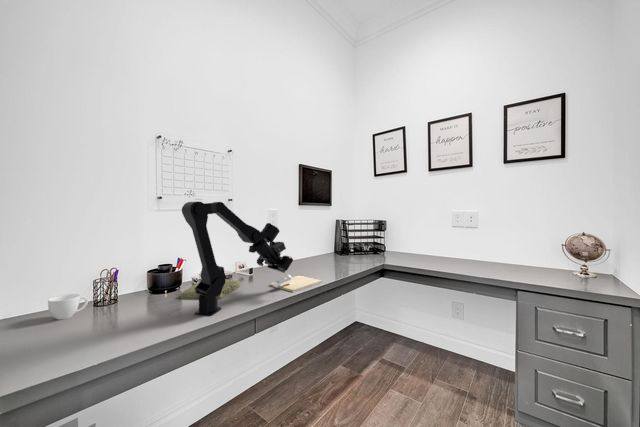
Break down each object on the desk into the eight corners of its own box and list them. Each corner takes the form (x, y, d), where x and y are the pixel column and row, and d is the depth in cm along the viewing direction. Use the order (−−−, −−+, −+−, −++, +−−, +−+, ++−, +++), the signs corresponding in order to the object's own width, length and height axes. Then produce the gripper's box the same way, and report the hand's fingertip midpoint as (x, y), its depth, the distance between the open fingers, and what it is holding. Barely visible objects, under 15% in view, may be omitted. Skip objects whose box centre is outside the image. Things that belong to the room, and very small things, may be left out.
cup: (48, 317, 91) (47, 297, 91) (86, 309, 98) (86, 291, 98) (48, 324, 86) (48, 303, 86) (89, 315, 93) (89, 295, 93)
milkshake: (276, 292, 121) (290, 285, 129) (281, 285, 119) (296, 278, 127) (270, 284, 123) (284, 277, 131) (275, 277, 120) (290, 271, 128)
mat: (293, 292, 118) (293, 289, 118) (269, 285, 128) (269, 283, 128) (322, 282, 133) (322, 280, 133) (299, 277, 143) (298, 275, 143)
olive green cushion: (179, 299, 110) (179, 291, 110) (205, 285, 130) (205, 278, 130) (223, 301, 108) (223, 292, 108) (242, 286, 128) (242, 279, 128)
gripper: (289, 237, 113) (307, 260, 121) (261, 235, 125) (279, 255, 133) (275, 259, 107) (295, 281, 115) (247, 254, 119) (267, 274, 127)
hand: (284, 271), depth 123 cm, fingers closed
